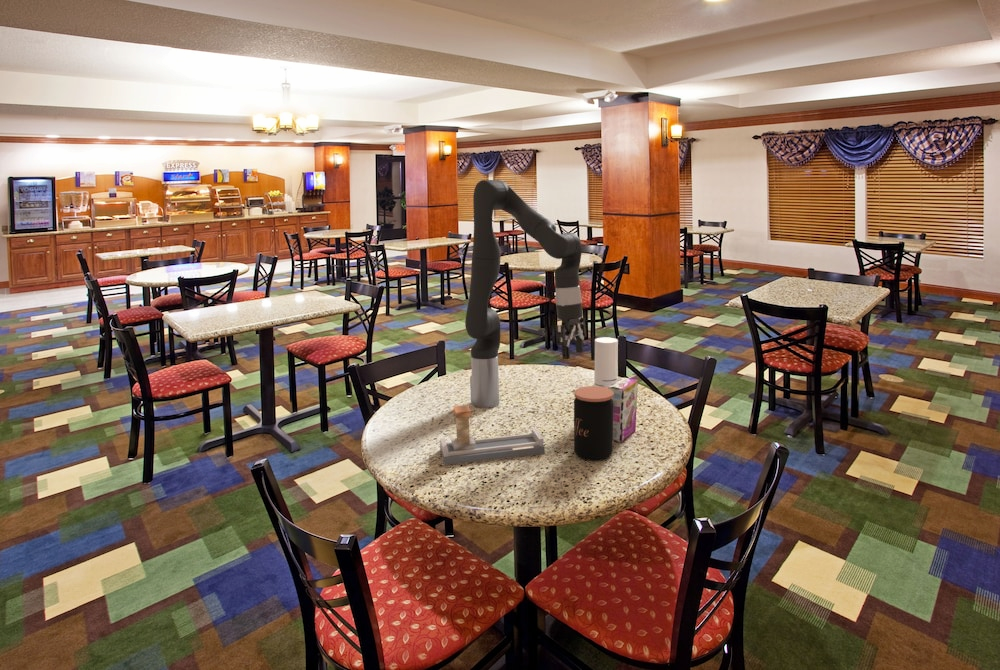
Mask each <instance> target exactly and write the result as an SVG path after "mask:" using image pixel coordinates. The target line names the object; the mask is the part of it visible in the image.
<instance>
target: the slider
mask: <svg viewBox="0 0 1000 670" xmlns="http://www.w3.org/2000/svg"><path fill="white" fill-rule="evenodd" d="M452 409H453V413H454V416H455V423H456V425H455V426H456V438H451V441H450V442H452V448H453V450H454V451H461V450H469V449H476V443H475V441H474V437H473V435H472V436H470V421H469V420H470V417H472V410H471V409H470V407H469V405H468V404H465V405H463V404H462V405H454V406H453V408H452Z"/></svg>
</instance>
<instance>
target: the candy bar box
mask: <svg viewBox="0 0 1000 670" xmlns="http://www.w3.org/2000/svg"><path fill="white" fill-rule="evenodd" d="M638 381H639V380H638V379H635V378H630V377H622V378H620V379H618V380H617V382H616V383H614V384H612V385H611V386H609V387H608V389H610V390H612V391H613V393H614V396H613V398H612V399H613V403H614V408H613V442H616V443H623V442H624V441H625V440H626V439H627V438H628V437H630V436H631V435H632V434H633V433H635V431H636V428H637V427H636V425H637V408H638V406H637V405H638V385H639V384H638V383H639V382H638Z"/></svg>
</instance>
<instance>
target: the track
mask: <svg viewBox="0 0 1000 670" xmlns="http://www.w3.org/2000/svg"><path fill="white" fill-rule="evenodd" d="M473 439H474V438H473ZM474 441H475V443H476V449H469V450H461V451H454V450H453V448H452V441H448V442H446V439H445V438H443V437H442V438H440V439H439V447H440V449H439V450H440V453H441V457H442V460H443V464H444V466H451V465H450V464H453V465H459V464H458V463H461V464H467V463H466V462H469V463H475V462H476V463H477V462H486V461H494V460H499V459H501V460H502V459H503V460H504V459H509V458H517V457H526V456H536V455H541V454H545V453H546V451H545V445H544V438H543V436H542V435H541V434H540V432H539V431H538V429H537V428H536V427H535V428H534V427H533V428H531V432H529V433H521V434H509V435H502V436H493V437H492V436H491V437H485V438H483V437H482V438H476V439H474Z"/></svg>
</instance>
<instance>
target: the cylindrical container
mask: <svg viewBox="0 0 1000 670" xmlns="http://www.w3.org/2000/svg"><path fill="white" fill-rule="evenodd" d="M618 345H619V340H618V338H615V337H614V338H613V337H609V336H607V337H604V336H603V337H597V338H595V339H594V385H593V386H599V387H605V388H608V387H609V386H611V385H612V384H614V383H616V382H617V381H618V356H619V355H618V351H619V349H618V348H619V347H618Z"/></svg>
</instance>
